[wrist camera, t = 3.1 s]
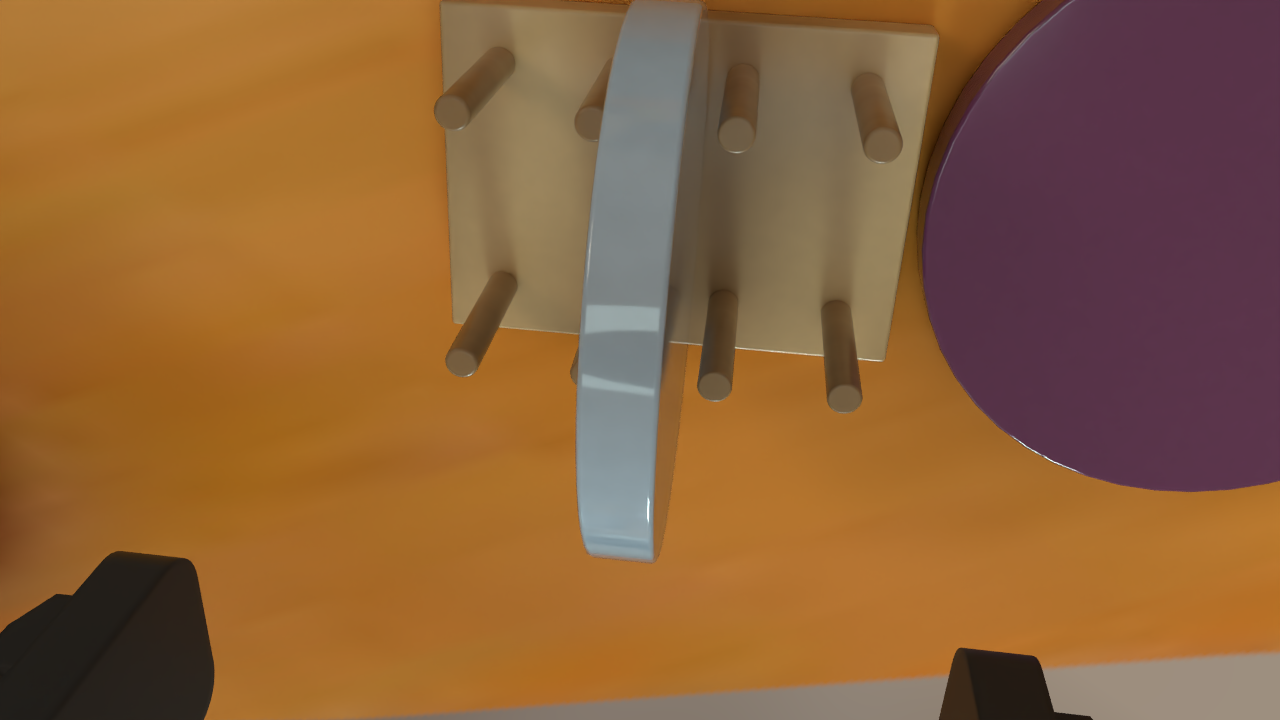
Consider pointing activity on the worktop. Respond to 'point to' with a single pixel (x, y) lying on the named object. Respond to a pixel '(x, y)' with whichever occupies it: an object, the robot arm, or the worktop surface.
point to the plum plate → (1118, 240)
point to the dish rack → (731, 183)
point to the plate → (640, 278)
